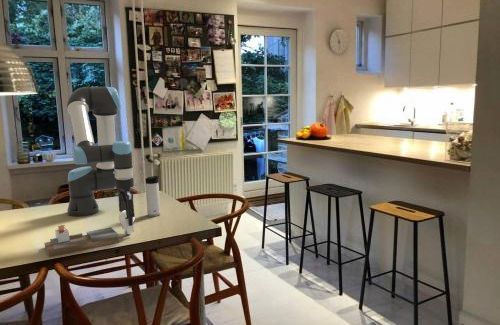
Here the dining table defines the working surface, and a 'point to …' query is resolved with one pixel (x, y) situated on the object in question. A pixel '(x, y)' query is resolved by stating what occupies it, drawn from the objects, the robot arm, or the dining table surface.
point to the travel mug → (152, 196)
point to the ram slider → (62, 235)
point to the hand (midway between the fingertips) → (127, 230)
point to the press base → (82, 241)
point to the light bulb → (124, 221)
